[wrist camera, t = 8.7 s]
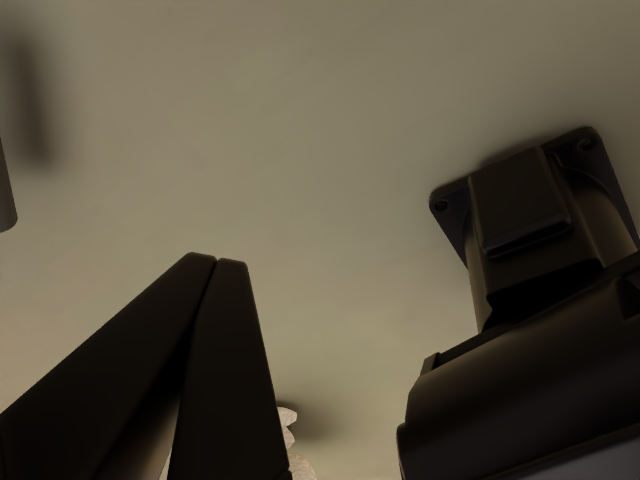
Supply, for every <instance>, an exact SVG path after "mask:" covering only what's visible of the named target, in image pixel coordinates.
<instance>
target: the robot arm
mask: <svg viewBox="0 0 640 480" xmlns="http://www.w3.org/2000/svg"><path fill="white" fill-rule="evenodd" d="M584 139H591V141H590V142H589V143H588V144H586V145H579V144H580V143H581V141H583V140H584ZM439 201H446V202H447V203H446V204H444V205H438V204H437V203H438V202H439ZM429 208H430V211H431V212H432V214H433V216H434V217H435V219H436V220H437V222H438V223H439V225H440V227H441V228H442V230H443V231H444V233H445V235H446V236H447V238H448V239H449V241H450V242H451V244H452V246H453V247H454V249H455V250H456V252H457V254H458V255H459V257H460V258H461V260H462V261H463V263H464V265H465V266H466V268H467V269H468V272H469V278H470V284H471V290H472V296H473V303H474V309H475V315H476V321H477V327H478V335H476V336H474V337H472V338H470V339H468V340H466V341H464V342H463V343H461V344H459V345H457V346H455V347H453V348H451V349H449V350H447V351H445V352H443V353H442V354H441V353H439V352H437V353H435V354H433V355H431V356H429V357H428V358H426V359H425V360H424V363H423V367H422V370H421V373H420V376H419V377H418V379H417V381H416V382H415V384H414V386H413V387H412V389H411V390H410V392H409V396H408V403H407V409H406V416H405V423H402V424H400V425H399V426H398V427H397V433H396V442H397V450H398V458H399V466H400V471H401V477H402V480H640V239H639V236H638V234H637V231H636V229H635V226H634V223H633V221H632V218H631V215H630V213H629V210H628V207H627V205H626V202H625V200H624V197H623V194H622V192H621V189H620V186H619V184H618V181H617V178H616V176H615V173H614V170H613V168H612V165H611V163H610V160H609V157H608V155H607V152H606V149H605V147H604V144H603V141H602V139H601V137H600V135H599V133H598V132H597V131H596V129H594V128H592V127H583V128H579V129H577V130H575V131H572V132H570V133H568V134H565V135H563V136H561V137H559V138H556V139H554V140H552V141H549V142H547V143H545V144H542V145H540V146H538V147H532V148H529V149H527V150H525V151H522V152H520V153H518V154H516V155H513V156H511V157H509V158H506V159H504V160H502V161H500V162H497V163H495V164H493V165H490V166H488V167H486V168H483V169H481V170H479V171H477V172H474V173H472V174H471V175H470V176H469V177H467V178H464V179H462V180H460V181H457V182H455V183H453V184H451V185H448V186H446V187H444V188H441V189H439V190H437V191H435V192H433V193H432V194H431V195H430V197H429ZM171 447H172V451H171V457H170V463H169V469H168V475H167V480H293V477H292V472H291V471H290V470H289V467H290V464H289V460H288V455H287V450H286V445H285V441H284V436H283V431H282V427H281V422H280V417H279V413H278V408H277V403H276V399H275V394H274V389H273V384H272V380H271V375H270V370H269V366H268V361H267V356H266V352H265V347H264V342H263V338H262V333H261V328H260V323H259V319H258V314H257V309H256V305H255V300H254V295H253V291H252V286H251V281H250V277H249V272H248V267H247V265H246V263H244V262H242V261H237V260H232V259H226V258H220V259H219V260H218V261H217V259H216V258H215V257H214V256H211V255H205V254H200V253H195V252H190V253H187V254H186V255H184V256H183V257H182V258H181V259H180V260H179V261H178V262H176V263H175V264H174V265H173V266H172V267H171V268H169V269H168V270H167V271H166V272H165V273H164V274H162V275H161V276H160V277H159V278H158V279H157V280H155V281H154V282H153V283H152V284H151V285H150V286H148V287H147V288H146V289H145V290H144V291H143V292H142V293H140V294H139V295H138V296H137V297H136V298H135V299H133V300H132V301H131V302H130V303H129V304H128V305H126V306H125V307H124V308H123V309H122V310H121V311H119V312H118V313H117V314H116V315H115V316H114V317H112V318H111V319H110V320H109V321H108V322H107V323H105V324H104V325H103V326H102V327H101V328H100V329H99V330H97V331H96V332H95V333H94V334H93V335H92V336H90V337H89V338H88V339H87V340H86V341H85V342H83V343H82V344H81V345H80V346H79V347H78V348H76V349H75V350H74V351H73V352H72V353H71V354H69V355H68V356H67V357H66V358H65V359H64V360H62V361H61V362H60V363H59V364H58V365H57V366H55V367H54V368H53V369H52V370H51V371H50V372H49V373H47V374H46V375H45V376H44V377H43V378H42V379H40V380H39V381H38V382H37V383H36V384H35V385H33V386H32V387H31V388H30V389H29V390H28V391H26V392H25V393H24V394H23V395H22V396H21V397H19V398H18V399H17V400H16V401H15V402H14V403H12V404H11V405H10V406H9V407H8V408H7V409H5V410H4V411H3V412H2V413H1V414H0V480H159V478H160V476H161V473H162V470H163V468H164V465H165V463H166V460H167V458H168V455H169V452H170V450H171Z"/></svg>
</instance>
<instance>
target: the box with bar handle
mask: <svg viewBox="0 0 640 480" xmlns="http://www.w3.org/2000/svg"><path fill="white" fill-rule="evenodd" d="M17 219H18V217H17V212H16V208H15V203H14V198H13V194H12V189H11V185H10V180H9V175H8V171H7V166H6V161H5V157H4V152H3V147H2V143H1V138H0V233H1V232H4V231H7V230H9V229H11V228H12V227H13V226H14V225H15V224H16V222H17Z"/></svg>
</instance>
